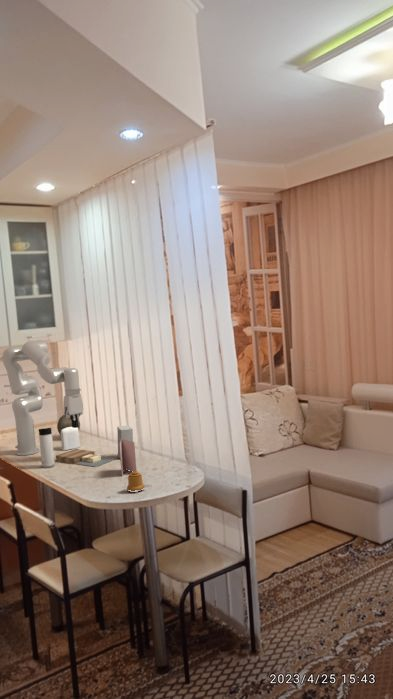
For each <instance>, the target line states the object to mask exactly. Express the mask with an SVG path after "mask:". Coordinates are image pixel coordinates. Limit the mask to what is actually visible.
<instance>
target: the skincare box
mask: <svg viewBox="0 0 393 699" xmlns="http://www.w3.org/2000/svg"><path fill="white" fill-rule="evenodd" d="M116 429H117V456H118V457H119V459H121V454H120V447H119V442H120V441H121V439H125V440H128V441H132V442H134V435H133V434H134V431H133V427H131V426H130V425H121V426H117V428H116Z"/></svg>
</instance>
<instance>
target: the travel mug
mask: <svg viewBox="0 0 393 699" xmlns="http://www.w3.org/2000/svg"><path fill="white" fill-rule="evenodd" d="M38 438H39V440H38V441H39V451H40V458H41V467H42V468H43V469H51V468H54V467H55V466H56V465H55V463H56V462H55V452H54V443H53V442H54V441H53V431H52V427H46V428H39V429H38Z"/></svg>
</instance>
